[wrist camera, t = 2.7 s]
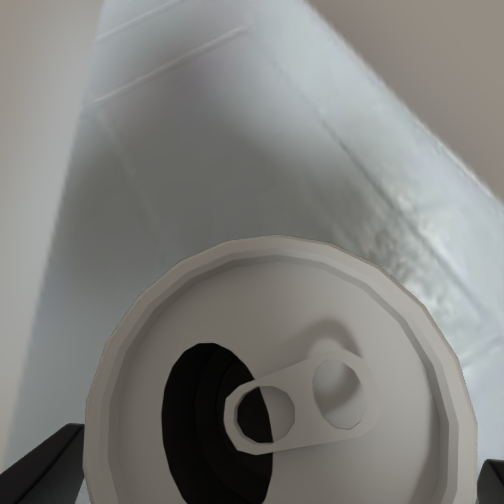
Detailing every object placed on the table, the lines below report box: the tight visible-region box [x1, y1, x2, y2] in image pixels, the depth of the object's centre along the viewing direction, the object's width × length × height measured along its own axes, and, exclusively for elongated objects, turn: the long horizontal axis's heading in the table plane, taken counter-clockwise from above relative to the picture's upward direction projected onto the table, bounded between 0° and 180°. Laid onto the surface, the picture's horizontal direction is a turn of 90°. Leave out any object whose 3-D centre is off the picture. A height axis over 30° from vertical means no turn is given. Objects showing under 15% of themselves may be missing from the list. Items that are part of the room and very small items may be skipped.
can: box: [82, 234, 477, 504], centre depth 11 cm, size 8×8×12 cm
